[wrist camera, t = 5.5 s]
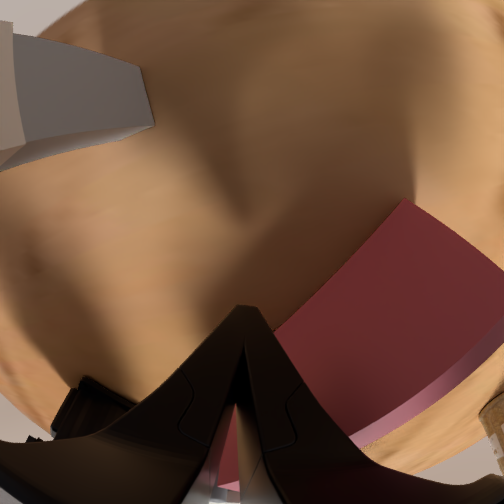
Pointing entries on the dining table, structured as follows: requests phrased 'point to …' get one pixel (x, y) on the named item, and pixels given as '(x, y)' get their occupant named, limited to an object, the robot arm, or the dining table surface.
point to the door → (392, 329)
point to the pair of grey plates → (68, 110)
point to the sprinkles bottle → (495, 427)
